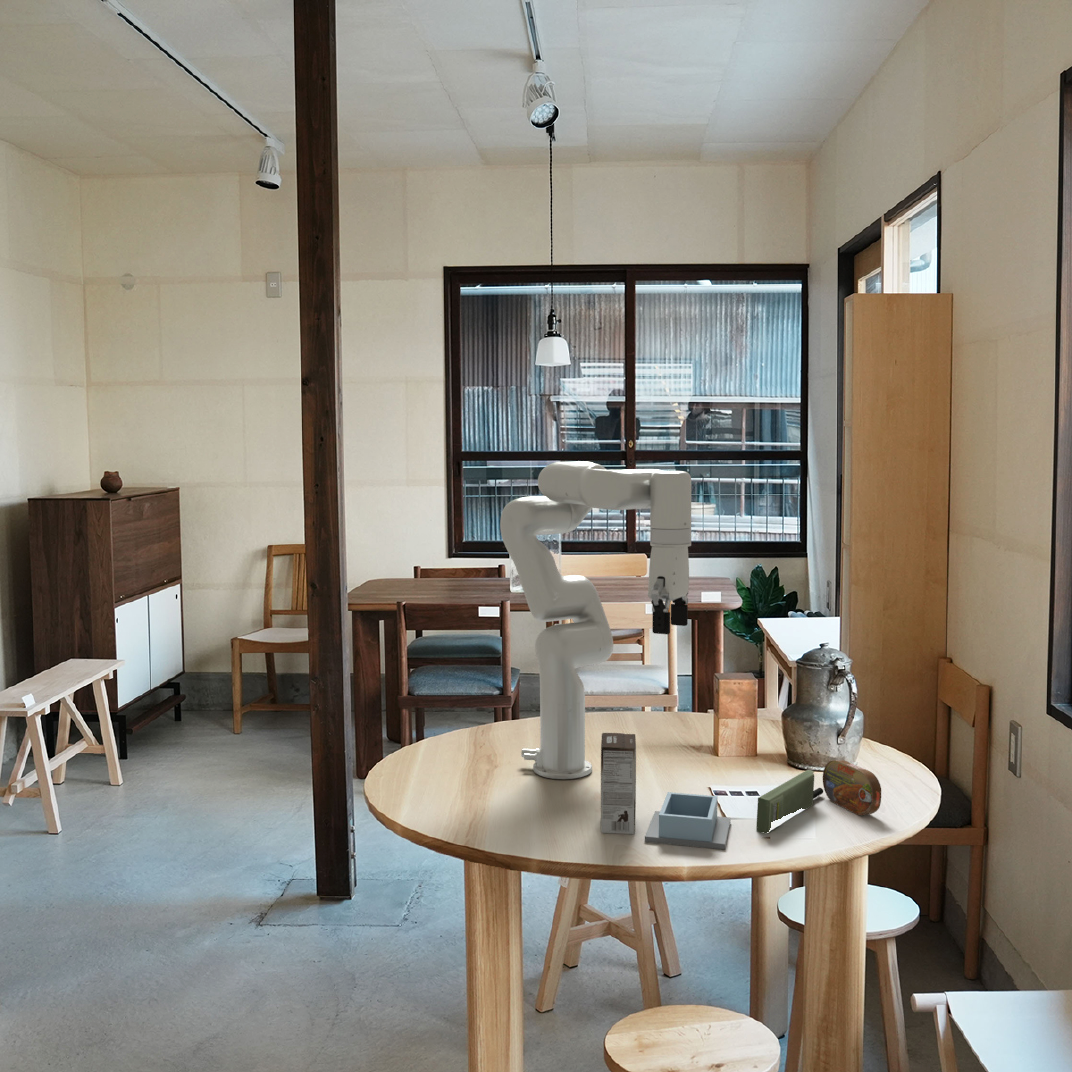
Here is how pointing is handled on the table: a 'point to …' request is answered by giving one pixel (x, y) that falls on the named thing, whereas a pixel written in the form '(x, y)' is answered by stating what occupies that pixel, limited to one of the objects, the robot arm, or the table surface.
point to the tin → (852, 787)
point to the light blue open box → (689, 822)
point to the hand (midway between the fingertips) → (670, 629)
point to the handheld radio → (786, 800)
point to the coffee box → (618, 783)
